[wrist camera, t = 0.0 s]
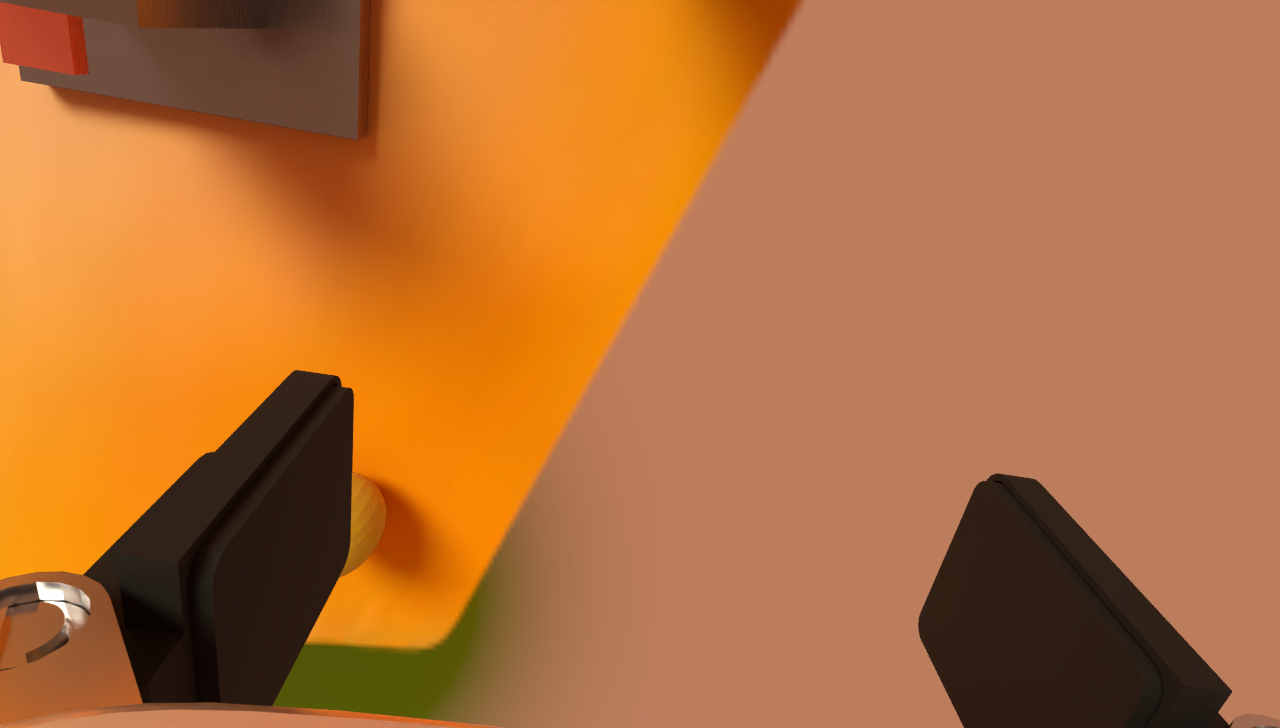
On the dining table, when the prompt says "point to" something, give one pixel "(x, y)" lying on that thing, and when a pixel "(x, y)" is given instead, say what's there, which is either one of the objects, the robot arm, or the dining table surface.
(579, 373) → the dining table surface
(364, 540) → the lemon
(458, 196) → the dining table surface
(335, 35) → the post stand
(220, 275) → the dining table surface
